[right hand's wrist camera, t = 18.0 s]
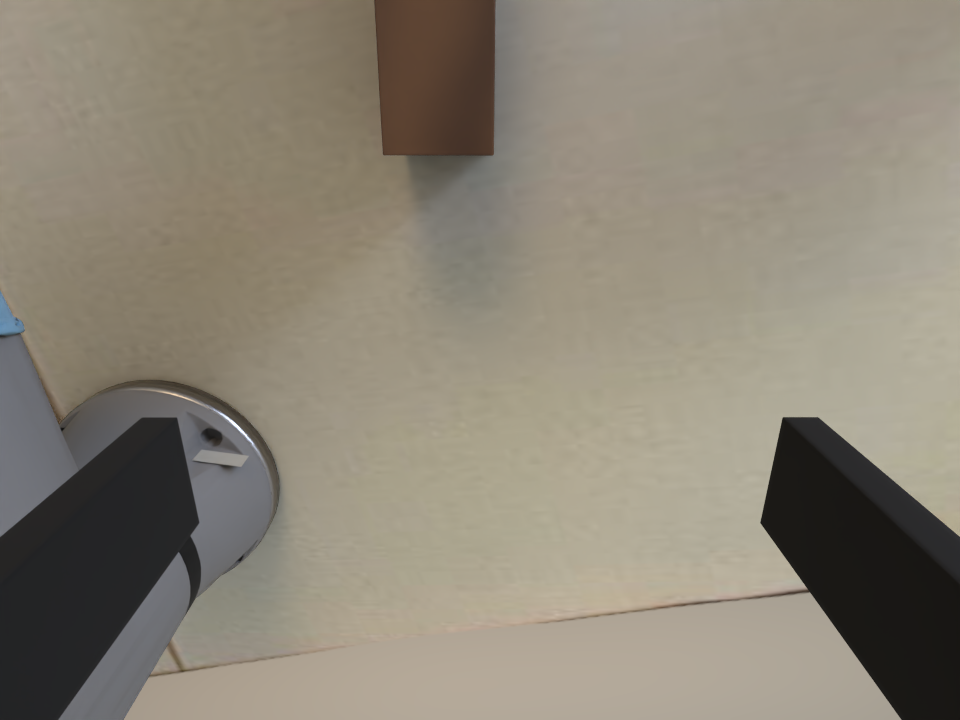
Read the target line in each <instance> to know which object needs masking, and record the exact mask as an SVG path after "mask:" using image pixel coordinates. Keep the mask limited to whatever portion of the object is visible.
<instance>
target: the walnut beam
mask: <svg viewBox="0 0 960 720" xmlns="http://www.w3.org/2000/svg"><path fill="white" fill-rule="evenodd" d="M374 1H375V19H376V37H377V55H378V73H379V91H380V109H381V127H382V146H383V155H494V80H495V0H374Z"/></svg>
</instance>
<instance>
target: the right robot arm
mask: <svg viewBox="0 0 960 720" xmlns="http://www.w3.org/2000/svg"><path fill="white" fill-rule="evenodd" d="M24 331H25V329H24V325H23V323H22V321H21V320H19V319H18V318H16V317H13V315H12V313H11V311H10V309H9V307H8V305H7V303H6V301H5V299H4V297H3V295H2V293H1V291H0V720H124V718H125V716H126V714H127V713H128V711H129V709H130V708H131V706H132V704H133V703H134V701H135V699H136V697H137V696H138V694H139V692H140V691H141V689H142V687H143V686H144V684H145V682H146V681H147V679H148V677H149V676H150V674H151V672H152V670H153V669H154V667H155V665H156V664H157V662H158V660H159V659H160V657H161V655H162V653H163V652H164V650H165V648H166V647H167V645H168V643H169V642H170V640H171V638H172V637H173V635H174V633H175V631H176V630H177V628H178V626H179V625H180V623H181V621H182V620H183V618H184V616H185V615H186V613H187V611H188V610H189V608H190V607H191V605H192V603H193V601H194V600H195V598H197V597H198V596H199V595H200V594H202V593H203V592H204V591H205V590H206V589H207V588H208V587H210V586H211V585H212V584H213V583H214V581H215V580H216V579H217V578H219V577H220V576H221V575H223V574H225V573H226V572H228V571H230V570H231V569H233V568H234V567H236V566H237V565H238V564H239V563H241V562H242V561H243V560H244V559H245V558H246V557H248V555H249V554H250V553H251V552H252V551H253V550H254V549H255V548H256V547H257V546H258V544H259V543H260V542H261V540H262V538H263V537H264V535H265V533H266V531H267V529H268V528H269V526H270V524H271V522H272V520H273V518H274V515H275V513H276V509H277V506H278V500H279V478H278V473H277V469H276V465H275V462H274V459H273V457H272V455H271V452H270V450H269V449H268V447H267V445H266V443H265V442H264V440H263V439H262V437H261V436H260V434H259V433H258V432H257V431H256V429H255V428H254V427H253V426H252V425H251V424H250V423H249V422H248V421H247V420H246V419H245V418H244V417H243V416H242V415H241V414H240V413H238V412H237V411H236V410H235V409H233V408H232V407H231V406H229V405H228V404H226V403H225V402H223V401H221V400H220V399H218V398H216V397H214V396H212V395H210V394H208V393H206V392H204V391H201V390H199V389H196V388H193V387H190V386H187V385H183V384H179V383H174V382H168V381H160V380H139V381H132V382H126V383H122V384H118V385H115V386H112V387H109V388H107V389H105V390H103V391H101V392H99V393H97V394H95V395H94V396H92V397H91V398H89V399H88V400H86V401H85V402H83V403H82V404H80V405H79V406H78V407H76V408H75V409H74V410H73V411H71V412H70V413H69V414H68V415H67V416H66V417H65V418H64V419H63V420H62V422H61V423H60V424H58V422H57V419H56V417H55V415H54V412H53V410H52V408H51V405H50V403H49V400H48V398H47V396H46V393H45V391H44V388H43V386H42V384H41V381H40V379H39V377H38V374H37V372H36V369H35V367H34V365H33V362H32V360H31V358H30V355H29V353H28V350H27V348H26V346H25V343H24V341H23V339H22V336H21V334H20V333H21V332H24ZM761 524H762V526H763V527H764V529H765V530H766V531H767V533H768V534H769V536H770V537H771V538H772V540H773V541H774V542H775V544H776V545H777V547H778V548H779V549H780V551H781V552H782V554H783V555H784V556H785V558H786V559H787V561H788V562H789V563H790V565H791V566H792V568H793V569H794V570H795V572H796V573H797V575H798V576H799V577H800V579H801V580H802V582H803V583H804V584H805V586H806V587H807V588H808V590H809V591H810V593H811V594H812V595H813V597H814V598H815V600H816V601H817V602H818V604H819V605H820V607H821V608H822V609H823V611H824V612H825V614H826V615H827V616H828V618H829V619H830V621H831V622H832V623H833V625H834V626H835V627H836V629H837V630H838V632H839V633H840V634H841V636H842V637H843V639H844V640H845V641H846V643H847V644H848V646H849V647H850V648H851V650H852V651H853V653H854V654H855V655H856V657H857V658H858V660H859V661H860V662H861V664H862V665H863V667H864V668H865V669H866V671H867V672H868V673H869V675H870V676H871V678H872V679H873V680H874V682H875V683H876V685H877V686H878V687H879V689H880V690H881V692H882V693H883V694H884V696H885V697H886V699H887V700H888V701H889V703H890V704H891V706H892V707H893V708H894V710H895V711H896V713H897V714H898V715H899V717H900V718H901V719H902V720H960V537H959V536H958V535H957V534H956V533H954V532H953V531H952V530H951V529H950V528H949V527H947V526H946V525H945V524H944V523H943V522H941V521H940V520H939V519H938V518H937V517H936V516H934V515H933V514H932V513H931V512H930V511H928V510H927V509H926V508H925V507H924V506H922V505H921V504H920V503H919V502H918V501H917V500H915V499H914V498H913V497H912V496H911V495H909V494H908V493H907V492H906V491H905V490H904V489H902V488H901V487H900V486H899V485H898V484H896V483H895V482H894V481H893V480H892V479H890V478H889V477H888V476H887V475H886V474H885V473H883V472H882V471H881V470H880V469H879V468H877V467H876V466H875V465H874V464H873V463H872V462H870V461H869V460H868V459H867V458H866V457H864V456H863V455H862V454H861V453H860V452H858V451H857V450H856V449H855V448H854V447H853V446H851V445H850V444H849V443H848V442H847V441H845V440H844V439H843V438H842V437H841V436H840V435H838V434H837V433H836V432H835V431H834V430H832V429H831V428H830V427H829V426H828V425H827V424H825V423H824V422H823V421H822V420H821V419H819V418H818V417H783V419H782V424H781V428H780V433H779V438H778V442H777V447H776V452H775V457H774V461H773V466H772V471H771V475H770V480H769V485H768V490H767V494H766V499H765V504H764V508H763V513H762V518H761Z"/></svg>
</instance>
